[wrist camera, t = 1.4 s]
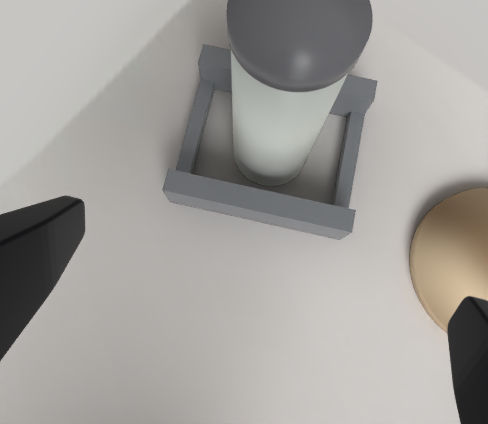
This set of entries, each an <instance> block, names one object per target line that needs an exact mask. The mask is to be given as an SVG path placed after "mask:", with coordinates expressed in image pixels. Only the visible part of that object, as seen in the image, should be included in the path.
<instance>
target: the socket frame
mask: <svg viewBox="0 0 488 424" xmlns="http://www.w3.org/2000/svg"><path fill="white" fill-rule="evenodd" d="M198 65H199V71H200V77H201V80H200V84H199V88H198V91H197V95H196V99H195V102H194V106H193V109H192V113H191V117H190V120H189V124H188V127H187V131H186V135H185V138H184V142H183V146H182V149H181V153H180V156H179V160H178V164H177V167H176V170H172V169H168V172H167V176H166V179H165V183H164V186H163V192H164V193H165V195H166V196H167V198H168V199H169V201H170V202H173V203H177V204H182V205H186V206H191V207H195V208H200V209H204V210H209V211H213V212H218V213H222V214H227V215H231V216H236V217H240V218H244V219H249V220H253V221H258V222H262V223H267V224H271V225H276V226H280V227H285V228H289V229H294V230H298V231H303V232H307V233H312V234H316V235H320V236H325V237H329V238H334V239H338V240H340V239H342V238H344V237H345V236H347V235H348V234H350V233H352V228H353V222H354V217H355V211H356V210H353V209H348V208H349V202H350V196H351V190H352V185H353V179H354V173H355V167H356V161H357V156H358V150H359V144H360V138H361V132H362V127H363V121H364V115H365V113H366V111H367V110H368V108H369V107H370V105H371V104H372V102H373V101H374V98H375V92H376V86H377V81H376V80H371V79H366V78H361V77H357V76H352V75H347V77H346V79H345V81H344V83H343V85H342V87H341V89H340V91H339V94H338V96H337V98H336V100H335V102H334V104H333V106H332V108H331V110H330V112H329V113H330V114H335V115H340V116H344V117H348V119H347V124H346V130H345V135H344V141H343V146H342V152H341V157H340V163H339V168H338V174H337V179H336V185H335V190H334V196H333V201H332V205H330V204H326V203H321V202H317V201H312V200H308V199H303V198H299V197H294V196H289V195H285V194H280V193H276V192H271V191H267V190H262V189H258V188H253V187H249V186H244V185H240V184H235V183H231V182H226V181H222V180H217V179H213V178H208V177H203V176H199V175H194V174H192V172H193V168H194V164H195V160H196V157H197V153H198V149H199V145H200V141H201V138H202V134H203V130H204V126H205V123H206V119H207V115H208V111H209V108H210V104H211V100H212V96H213V93H214V89H218V90H223V91H227V92H232V74H231V50H228V49H223V48H218V47H214V46H209V45H204V44H203V47H202V51H201V54H200V58H199V62H198Z"/></svg>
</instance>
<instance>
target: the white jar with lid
mask: <svg viewBox="0 0 488 424" xmlns="http://www.w3.org/2000/svg"><path fill="white" fill-rule="evenodd" d="M371 28H372V9H371V4H370V1H369V0H228V4H227V31H228V40H229V45H230V47H231V74H232V114H233V152H234V159H235V162H236V164H237V166H238V168H239V170H240V171H241V172H242V173H243V175H244V176H246V177H247V178H248V179H250V180H251V181H253V182H255V183H257V184H260V185H265V186H276V185H281V184H284V183H286V182H289V181H290V180H292V179H293V178H294V177H296V176H297V175H298V174H299V172H300V171H301V170H302V168H303V166H304V164H305V162H306V160H307V158H308V156H309V154H310V151H311V149H312V147H313V145H314V143H315V141H316V139H317V137H318V135H319V133H320V131H321V129H322V127H323V125H324V122H325V120H326V118H327V116H328V114H329V112H330V110H331V108H332V106H333V104H334V102H335V100H336V98H337V96H338V94H339V91H340V89H341V87H342V85H343V83H344V81H345V79H346V77H347V75H348V73H349V72H350V70H351V69H352V68H353V67H354V65H355V64H356V63H357V61H358V59H359V57H360V55H361V53H362V51H363V49H364V47H365V45H366V43H367V41H368V39H369V36H370V33H371Z"/></svg>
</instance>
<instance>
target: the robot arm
mask: <svg viewBox="0 0 488 424" xmlns="http://www.w3.org/2000/svg"><path fill="white" fill-rule="evenodd" d="M84 233H85V206H84V202H83V201H82V200H81V199H78V198H74V197H70V196H62V197H58V198H55V199H52V200H48V201H45V202H41V203H38V204H35V205H31V206H28V207H24V208H21V209H18V210H14V211H11V212H7V213H4V214H1V215H0V361H1V359H2V358H3V357H4V355H5V354H6V353H7V351H8V350H9V348H10V347H11V346H12V344H13V343H14V342H15V340H16V339H17V338H18V336H19V335H20V334H21V332H22V331H23V330H24V328H25V327H26V325H27V324H28V323H29V321H30V320H31V319H32V317H33V316H34V315H35V313H36V312H37V311H38V309H39V308H40V307H41V305H42V304H43V302H44V301H45V300H46V298H47V297H48V296H49V294H50V293H51V291H52V290H53V288H54V287H55V285H56V284H57V282H58V280H59V279H60V277H61V275H62V273H63V272H64V270H65V268H66V266H67V265H68V263H69V261H70V259H71V258H72V256H73V254H74V252H75V251H76V249H77V247H78V245H79V244H80V242H81V240H82V238H83V236H84ZM447 333H448V342H449V352H450V361H451V371H452V380H453V388H454V394H455V399H456V404H457V409H458V413H459V418H460V422H461V424H488V301H487V300H485V299H481V298H477V297H473V296H467V297H465V298H464V299H463V300H462V301H461V303H460V304H459V306H458V308H457V309H456V311H455V312H454V314H453V315H452V317H451V318H450V320H449V322H448V326H447Z"/></svg>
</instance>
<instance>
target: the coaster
mask: <svg viewBox="0 0 488 424" xmlns="http://www.w3.org/2000/svg"><path fill="white" fill-rule="evenodd" d="M410 272H411V278H412V282H413V285H414V289H415V291H416V294H417V296H418V298H419V300H420V302H421V304H422V306H423V307H424V309H425V310H426V312H427V313H428V314H429V316H430V317H431V318H432V319H433V320H434V322H435V323H436V324H437V325H438V326H439V327H440V328H442V329H443V330H444V331H445V332H446V333H447V326H448V322H449V320H450V318H451V317H452V315H453V314H454V312H455V311H456V309H457V308H458V306H459V304H460V303H461V301H462V300H463V299H464V298H465V297H467V296H473V297H477V298H481V299H485V300H487V301H488V188H475V189H470V190H466V191H463V192H460V193H457V194H455V195H453V196H451V197H449V198H447V199H445V200H443V201H441V202H440V203H439V204H437V205H436V206H434V207H433V208H432V209H431V210H430V211H429V212H428V213H427V214H426V215H425V217H424V218H423V219H422V220H421V222H420V224H419V226H418V227H417V229H416V232H415V234H414V237H413V240H412V244H411V249H410Z"/></svg>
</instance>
